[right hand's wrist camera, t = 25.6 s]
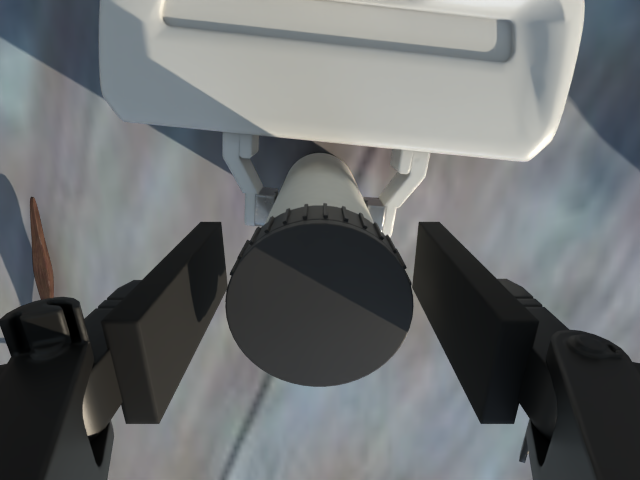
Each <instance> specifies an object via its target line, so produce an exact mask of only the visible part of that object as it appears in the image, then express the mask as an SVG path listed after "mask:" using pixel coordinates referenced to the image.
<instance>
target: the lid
mask: <svg viewBox="0 0 640 480" xmlns="http://www.w3.org/2000/svg"><path fill="white" fill-rule="evenodd" d="M405 269H406V265H405V263H404V262H403V260H402V258H401V256H400V254H399V252H398V250H397V249H396V248H395V246H394V245H393V243H392V241H391V239H390V237H389V235H388V234H387V235H386V236H385V235H384V233H383V232H382V231H381V230H380V228H379V226H378V224H377V223H376V222H374V224H373V223H372V222H370V221H369V220H368V219H366V218H364V216H363V214H362V213H359V214H357V213H354V212H352V211H349V210H347V209H346V207H345V206H342V208H339V207H334V206H327V203H323V205H313V206H308V204H304V207H300V208H296V209H292V210H290V208H288V209H286V212H285V213H282V214H280V215H278V216H277V217H275V218H274V217H273V216H272V217H270V219H269V221H268V222H267V223H266V224H265V225H263V226H262V227H261V228H260V227H258V228H257V229H256V230H255V232H254V234H253V236H252V238H251V240H250V241H249V240H247V241H246V243H245V245H244V247H243V248H242V250H241V252H240V254H239V256H238V258H237V261H236V263H235V265H234V267H233V268H232V270H231V272H230V275H232V276H231V279H230V281H229V284H228V287H227V291H226V292H227V293H226V316H227V321H228V325H229V328H230V331H231V333H232V335H233V338H234V340H235V341H236V343H237V345H238V346H239V348H240V349H241V350H242V352H243V353H244V354H245V355H246V356H247V357H248V358H249V359H250V360H251V361H252V362H253V363H254V364H255V365H257V366H258V367H259V368H261V369H262V370H263V371H265V372H267V373H269V374H270V375H272V376H274V377H276V378H279V379H281V380H284V381H287V382H290V383H294V384H298V385H303V386H313V387H326V386H335V385H341V384H345V383H349V382H352V381H355V380H358V379H360V378H362V377H365V376H367V375H369V374H370V373H372V372H374V371H375V370H377V369H378V368H380V367H381V366H382V365H384V364H385V363H386V362H387V361H388V360H389V359H390V358H391V357H392V356H393V355H394V354H395V353H396V351H397V350H398V349H399V348H400V346H401V344H402V343H403V341H404V339H405V338H406V335H407V333H408V330H409V328H410V324H411V320H412V315H413V294H412V289H411V285H412V284H411V281H410V279H409V277H408V275H407V273H406V271H405Z"/></svg>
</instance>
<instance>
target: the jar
mask: <svg viewBox="0 0 640 480" xmlns="http://www.w3.org/2000/svg"><path fill="white" fill-rule="evenodd" d="M323 203H327V206H334V207H339V208H342V206H345V207H346V209H347V210H349V211H352V212H354V213H357V214H359V213H362V214H363V216H364V218H366V219H368V220H369V221H370V222H372V223H373V224H374V222H373V220H372V217H371V215H370V213H369V211H368V209H367V206H366V204H365V202H364V200H363V197H362V195H361V193H360V191H359V189H358V186H357V184H356V182H355V180H354V178H353V175H352V173H351V171H350V169H349V168H348V167H347V165H346V164H345V163H344V162H343V161H341V160H340V159H339V158H337V157H335V156H333V155H330V154H326V153H313V154H309V155H307V156H304V157H302V158H301V159H299V160H298V161H297V162H296V163H295V164H294V165H293V166H292V167H291V169H290V170H289V172H288V174H287V176H286V179H285V181H284V183H283V185H282V187H281V190H280V192H279V194H278V196H277V198H276V200H275V203H274V205H273V207H272V209H271V211H270V213H269V216H268V218H267V220H266V222H265V224H266V223H267V222H268V221H269V219H270V217H272V216H273V217H274V218H275V217H277V216H278V215H280V214H282V213H285V212H286V209H288V208H290V210H292V209H296V208H300V207H304V204H308V206H313V205H323ZM265 224H264V225H265Z"/></svg>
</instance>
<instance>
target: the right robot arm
mask: <svg viewBox="0 0 640 480" xmlns="http://www.w3.org/2000/svg"><path fill="white" fill-rule="evenodd" d="M227 287H228V286H227V276H226V266H225V256H224V246H223V236H222V226H221V222H200V223H199V224H198V225H197V226H196V227H195V228H194V229H193V230H192V231H191V232H190V233H189V234H188V235H187V236H186V237H185V238H184V239H183V240H182V241H181V242H180V243H179V244H178V245H177V246H176V247H175V248H174V249H173V250H172V251H171V252H170V253H169V254H168V255H167V256H166V257H165V258H164V259H163V260H162V261H161V262H160V263H159V264H158V265H157V266H156V267H155V268H154V269H153V270H152V271H151V272H150V273H149V274H148V275H147V276H146V277H145V278H144V279H143V280H133V281H131V282H129V283H127V284H125V285H123V286H122V287H120V288H118V289H117V290H116V291H114V292H113V293H112V294H111V295H110V296H109V297H108V298H107V300H105V301H104V302H102V303H101V304H100V305H99V306H98V308H96V309H95V310H94V311H93V312H91V313H90V314H89V315H88V316H87V317H86V318H85V319H84V317H83V314H82V310H81V306H80V302H79V301H77V300H76V299H74V298H68V297H56V298H47V299H43V300H39V301H34V302H31V303H29V304H26V305H23V306H20V307H18V308H16V309H14V310H12V311H11V312H9V313H7V314H6V315H4V316H3V317H2V318H1V319H0V327H1V329H2V332H3V335H4V338H5V340H6V343H7V346H8V349H9V352H10V354H11V358H10V360H9V362H8V363H7V364H4V365H0V480H107V478H108V471H109V465H110V459H111V452H112V446H113V440H114V432H113V426H112V423H111V419H112V417H113V416H114V414H115V413H116V411H117V410H118V408H119V407H120V405H121V406H122V410H123V414H124V418H125V422H126V424H159V423H160V421H161V419H162V417H163V415H164V413H165V411H166V409H167V407H168V405H169V403H170V401H171V399H172V397H173V395H174V393H175V391H176V389H177V387H178V385H179V383H180V381H181V379H182V377H183V375H184V373H185V371H186V369H187V367H188V365H189V363H190V361H191V359H192V357H193V355H194V353H195V351H196V349H197V347H198V345H199V343H200V341H201V340H202V338H203V336H204V334H205V332H206V330H207V328H208V326H209V324H210V322H211V320H212V318H213V316H214V314H215V312H216V310H217V308H218V306H219V304H220V302H221V300H222V298H223V296H224V294H225V292H226V290H227ZM412 288H413V290H414V292H415V294H416V296H417V298H418V300H419V302H420V304H421V306H422V308H423V310H424V312H425V314H426V316H427V318H428V320H429V322H430V324H431V326H432V328H433V330H434V332H435V334H436V336H437V338H438V340H439V341H440V343H441V345H442V347H443V349H444V351H445V353H446V355H447V357H448V359H449V361H450V363H451V365H452V367H453V369H454V371H455V373H456V375H457V377H458V379H459V381H460V383H461V385H462V387H463V389H464V391H465V393H466V395H467V397H468V399H469V401H470V403H471V405H472V407H473V409H474V411H475V413H476V415H477V417H478V419H479V421H480V423H481V424H514V422H515V418H516V414H517V410H518V406H519V403H520V405H521V406H522V408H523V409H524V411H525V412H526V414H527V415H528V417H529V418H530V419H529V423H528V426H527V430H526V434H525V438H524V441H523V445H522V449H521V453H520V459H519V461H520V462H523V463H525V461H526V457H527V454H529V458H530V464H531V470H532V476H533V480H640V363H635V362H632V361H631V359H630V358H629V356H628V355H627V354H626V353H625V352H624V351H623V350H622V349H621V348H620V347H618V346H617V345H615V344H613V343H612V342H610V341H609V340H606V339H604V338H602V337H599V336H597V335H594V334H591V333H587V332H583V331H577V330H569V329H568V328H567V327H566V326H565V325H564V324H563V323H562V322H560V321H559V320H558V319H557V318H556V317H555V316H554V315H553V314H552V313H550V312H549V311H548V310H547V309H546V308H545V307H542V304H541V303H539V302H538V301H537V300H536V299H533V296H532V295H531V294H530V293H528V292H527V291H526V290H525V289H524V288H523V287H521V286H519V285H517V284H515V283H513V282H511V281H510V280H508V279H496V278H495V277H494V276H493V275H492V274H491V273H490V272H489V271H488V270H487V269H486V268H485V267H484V266H483V265H482V264H481V263H480V262H479V261H478V260H477V259H476V258H475V257H474V256H473V255H472V254H471V253H470V252H469V251H468V250H467V249H466V248H465V247H464V246H463V245H462V244H461V243H460V242H459V241H458V240H457V239H456V238H455V237H454V236H453V235H452V234H451V233H450V232H449V231H448V230H447V229H446V228H445V227H444V226H443V225H442V224H441V223H440V222H419V226H418V236H417V246H416V256H415V266H414V276H413V286H412Z"/></svg>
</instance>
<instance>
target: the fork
mask: <svg viewBox="0 0 640 480" xmlns="http://www.w3.org/2000/svg"><path fill="white" fill-rule="evenodd" d="M30 220H31V236H32V260H33V271H34V277H35V281H36V284H37V288H38V291H39V295H40V298H41V300H43V299H47V298H54V280H53V270H52V265H51V261H50V257H49V254H48V250H47V246H46V242H45V238H44V234H43V229H42V224H41V220H40V216H39V211H38V208H37V204H36V201H35V198H34V197H31V198H30Z"/></svg>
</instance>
